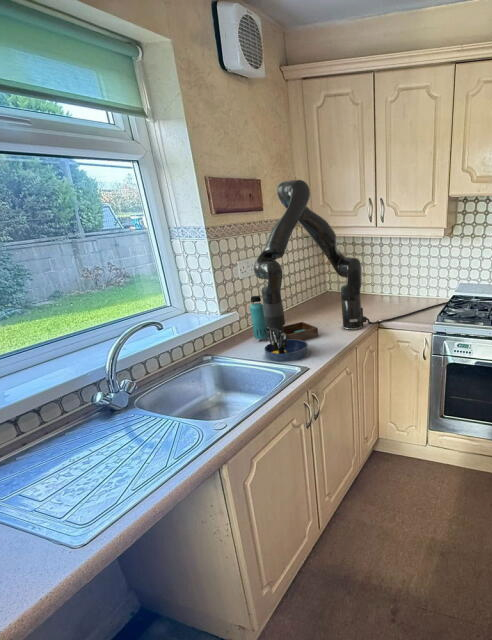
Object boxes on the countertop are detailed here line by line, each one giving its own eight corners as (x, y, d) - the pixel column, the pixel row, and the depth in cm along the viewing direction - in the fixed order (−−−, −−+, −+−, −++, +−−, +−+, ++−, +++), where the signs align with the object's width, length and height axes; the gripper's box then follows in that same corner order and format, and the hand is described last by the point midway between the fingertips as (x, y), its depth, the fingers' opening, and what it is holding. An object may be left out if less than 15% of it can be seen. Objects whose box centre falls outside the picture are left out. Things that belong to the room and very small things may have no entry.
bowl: (295, 345, 178) (294, 336, 176) (316, 355, 166) (316, 346, 164) (258, 354, 168) (257, 346, 166) (278, 366, 156) (277, 357, 154)
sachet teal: (303, 333, 191) (303, 329, 190) (307, 334, 188) (307, 330, 188) (294, 335, 188) (294, 331, 187) (298, 337, 185) (298, 333, 185)
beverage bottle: (256, 343, 180) (249, 298, 172) (253, 339, 186) (246, 295, 177) (270, 341, 183) (264, 296, 175) (267, 337, 188) (261, 293, 180)
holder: (303, 330, 196) (302, 321, 194) (318, 337, 187) (317, 327, 185) (273, 338, 187) (272, 328, 185) (288, 345, 177) (287, 335, 175)
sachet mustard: (283, 353, 167) (282, 348, 166) (287, 355, 165) (286, 351, 164) (272, 356, 164) (271, 351, 163) (276, 358, 162) (275, 354, 161)
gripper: (291, 315, 154) (296, 357, 162) (274, 308, 164) (279, 348, 171) (273, 319, 150) (279, 362, 157) (256, 311, 160) (262, 353, 167)
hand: (279, 354), depth 164 cm, fingers closed on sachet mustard, 3 cm apart
